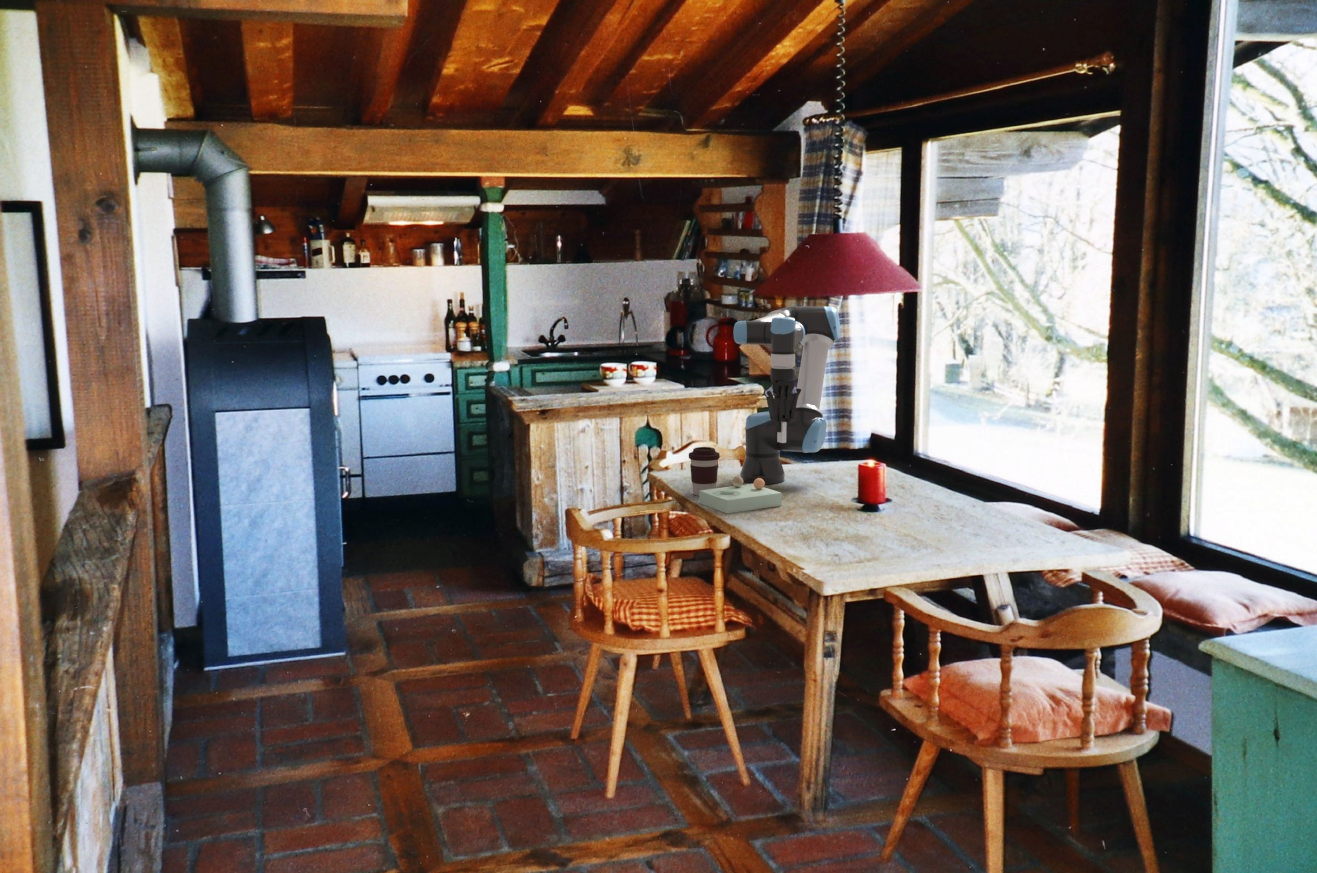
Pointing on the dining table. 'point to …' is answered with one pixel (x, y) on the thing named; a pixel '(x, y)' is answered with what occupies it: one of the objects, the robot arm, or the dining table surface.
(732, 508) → the board
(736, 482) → the beech ball
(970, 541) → the dining table surface
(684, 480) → the dining table surface
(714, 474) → the coffee cup
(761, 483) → the terracotta ball
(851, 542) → the dining table surface
